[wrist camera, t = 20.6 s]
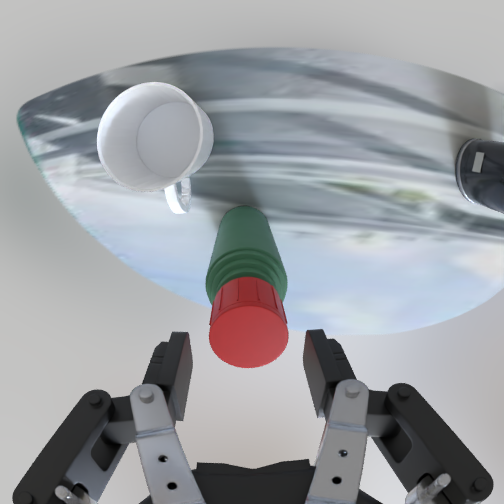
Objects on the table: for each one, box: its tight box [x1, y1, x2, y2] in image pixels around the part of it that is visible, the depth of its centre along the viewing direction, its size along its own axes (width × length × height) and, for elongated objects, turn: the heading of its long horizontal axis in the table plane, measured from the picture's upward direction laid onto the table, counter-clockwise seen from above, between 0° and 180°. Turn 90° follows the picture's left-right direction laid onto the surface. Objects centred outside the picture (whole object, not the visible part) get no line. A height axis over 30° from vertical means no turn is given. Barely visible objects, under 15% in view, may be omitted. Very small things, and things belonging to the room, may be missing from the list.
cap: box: [209, 277, 288, 368], centre depth 16 cm, size 4×4×3 cm
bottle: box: [206, 206, 287, 306], centre depth 24 cm, size 6×6×20 cm
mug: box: [97, 82, 214, 214], centre depth 25 cm, size 12×9×9 cm
